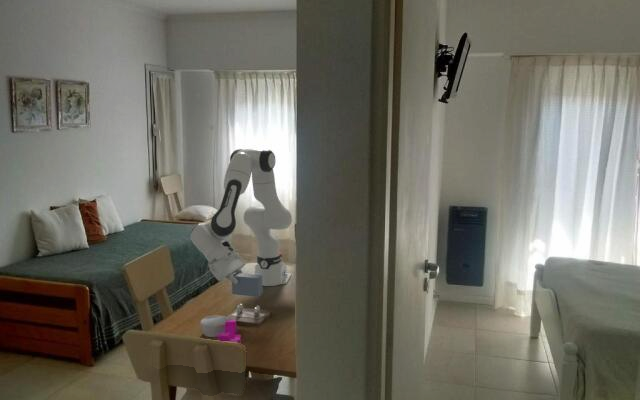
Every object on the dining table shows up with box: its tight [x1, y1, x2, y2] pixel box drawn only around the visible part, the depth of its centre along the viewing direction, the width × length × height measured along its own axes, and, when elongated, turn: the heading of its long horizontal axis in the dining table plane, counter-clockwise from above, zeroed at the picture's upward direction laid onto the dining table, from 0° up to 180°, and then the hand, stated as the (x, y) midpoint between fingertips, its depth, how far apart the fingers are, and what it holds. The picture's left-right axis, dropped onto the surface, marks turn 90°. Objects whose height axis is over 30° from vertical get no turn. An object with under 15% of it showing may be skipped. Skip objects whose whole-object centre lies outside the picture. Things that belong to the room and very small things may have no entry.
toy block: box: [217, 320, 242, 344], centre depth 197 cm, size 15×6×8 cm, turn 178°
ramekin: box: [200, 315, 229, 338], centre depth 209 cm, size 11×11×5 cm
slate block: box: [231, 272, 263, 298], centre depth 221 cm, size 4×12×8 cm, turn 72°
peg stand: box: [226, 303, 273, 328], centre depth 223 cm, size 14×16×6 cm
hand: (240, 280), depth 222 cm, fingers closed on slate block, 4 cm apart
